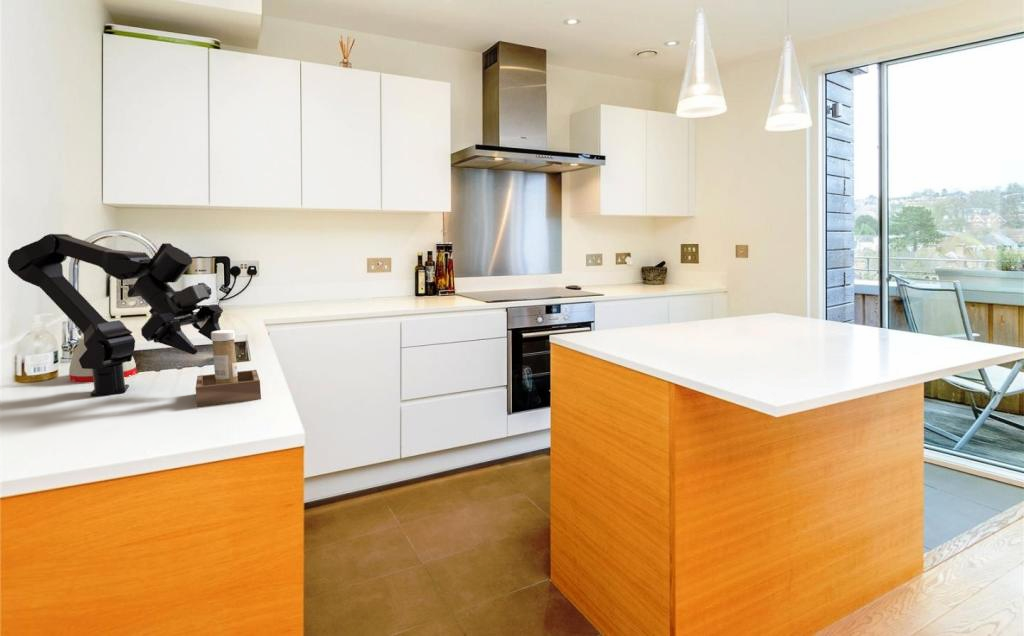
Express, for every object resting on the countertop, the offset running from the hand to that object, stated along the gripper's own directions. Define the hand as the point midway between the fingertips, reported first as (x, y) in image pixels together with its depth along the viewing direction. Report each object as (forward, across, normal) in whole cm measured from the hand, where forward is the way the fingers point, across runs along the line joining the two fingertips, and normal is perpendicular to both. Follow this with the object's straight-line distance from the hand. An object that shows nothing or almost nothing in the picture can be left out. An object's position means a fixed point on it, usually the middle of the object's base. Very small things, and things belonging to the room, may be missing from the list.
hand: (210, 349), depth 124 cm
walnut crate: (+10, 0, +5) cm, 11 cm away
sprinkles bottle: (+9, 0, +4) cm, 10 cm away
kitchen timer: (-22, +14, +37) cm, 45 cm away
